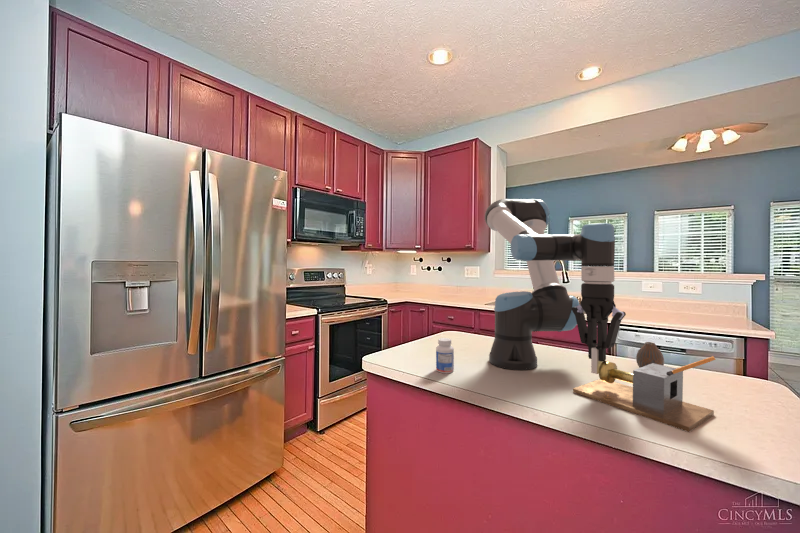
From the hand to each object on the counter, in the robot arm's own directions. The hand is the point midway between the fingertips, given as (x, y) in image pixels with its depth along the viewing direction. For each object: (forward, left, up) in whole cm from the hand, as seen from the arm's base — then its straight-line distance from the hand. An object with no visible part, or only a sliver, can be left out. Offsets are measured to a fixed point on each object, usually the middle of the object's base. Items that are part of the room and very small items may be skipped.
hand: (596, 372), depth 90 cm
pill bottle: (-33, -24, -5) cm, 41 cm away
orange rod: (+20, 0, +7) cm, 22 cm away
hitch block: (+10, 0, -5) cm, 11 cm away
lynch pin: (+8, 0, -2) cm, 8 cm away
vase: (+1, +29, -5) cm, 30 cm away
